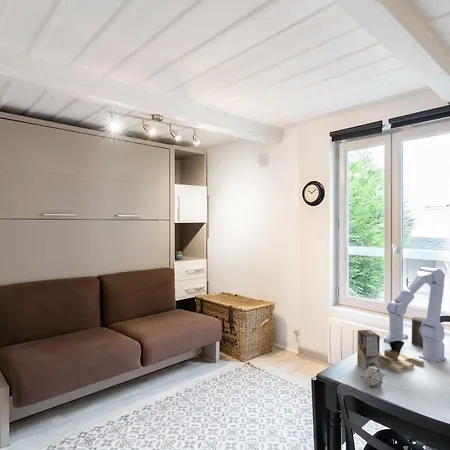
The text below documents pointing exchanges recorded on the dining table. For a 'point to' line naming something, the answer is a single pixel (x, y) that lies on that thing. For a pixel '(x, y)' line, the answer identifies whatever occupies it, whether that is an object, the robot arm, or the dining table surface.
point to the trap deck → (399, 362)
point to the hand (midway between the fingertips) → (395, 356)
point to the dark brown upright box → (417, 331)
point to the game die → (373, 376)
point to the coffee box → (368, 349)
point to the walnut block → (391, 354)
